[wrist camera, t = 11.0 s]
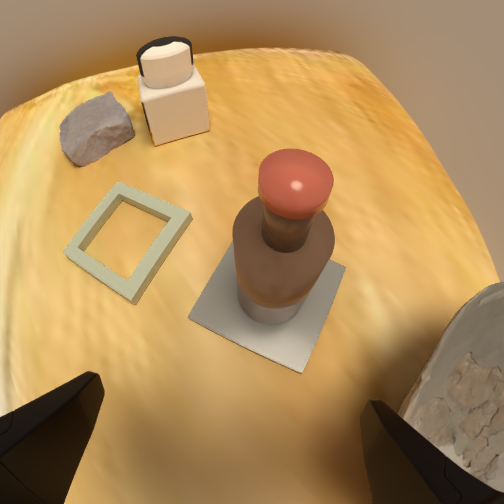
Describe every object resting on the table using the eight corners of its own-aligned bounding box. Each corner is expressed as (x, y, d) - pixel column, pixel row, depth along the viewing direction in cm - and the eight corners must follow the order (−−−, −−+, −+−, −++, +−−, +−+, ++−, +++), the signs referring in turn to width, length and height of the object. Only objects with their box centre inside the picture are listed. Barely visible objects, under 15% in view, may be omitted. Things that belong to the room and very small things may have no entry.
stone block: (83, 183, 32) (143, 134, 33) (62, 162, 28) (127, 108, 29) (68, 143, 37) (118, 103, 38) (52, 124, 32) (104, 82, 33)
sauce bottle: (267, 338, 22) (294, 261, 9) (224, 288, 24) (201, 166, 11) (316, 296, 23) (385, 187, 11) (274, 251, 25) (296, 118, 13)
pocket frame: (135, 304, 23) (131, 300, 22) (68, 258, 25) (62, 252, 24) (192, 219, 27) (190, 212, 26) (121, 187, 29) (118, 180, 28)
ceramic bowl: (288, 393, 20) (320, 394, 12) (472, 284, 25) (532, 240, 16) (370, 568, 11) (415, 613, 2) (524, 437, 16) (584, 429, 7)
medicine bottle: (147, 117, 35) (129, 42, 24) (197, 103, 36) (189, 27, 25) (154, 147, 32) (131, 62, 21) (210, 131, 33) (203, 44, 23)
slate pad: (300, 373, 21) (301, 373, 21) (188, 318, 23) (187, 317, 23) (344, 269, 25) (346, 266, 25) (244, 224, 27) (244, 221, 27)
